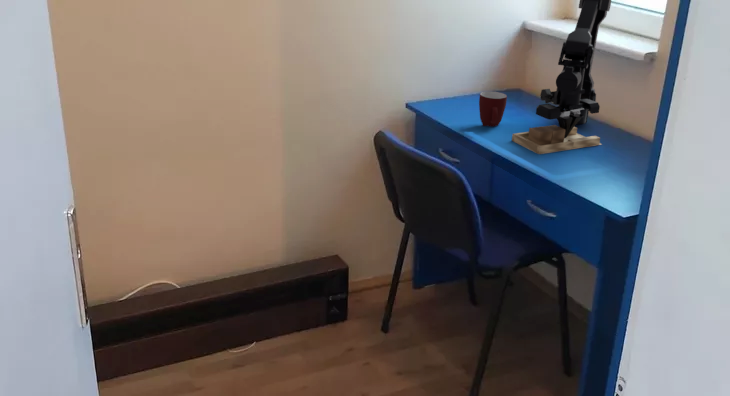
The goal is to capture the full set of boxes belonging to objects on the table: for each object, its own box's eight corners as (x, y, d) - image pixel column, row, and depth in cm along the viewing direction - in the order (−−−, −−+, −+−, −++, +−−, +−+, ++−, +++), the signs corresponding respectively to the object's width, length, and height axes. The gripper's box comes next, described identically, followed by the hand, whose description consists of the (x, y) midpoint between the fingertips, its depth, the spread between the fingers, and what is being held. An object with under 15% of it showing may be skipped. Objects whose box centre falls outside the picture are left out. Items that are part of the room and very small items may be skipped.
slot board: (573, 134, 221) (574, 125, 220) (601, 147, 211) (603, 137, 210) (511, 143, 211) (512, 133, 210) (538, 157, 201) (539, 147, 200)
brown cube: (552, 139, 213) (554, 124, 211) (563, 144, 209) (565, 129, 207) (540, 141, 211) (542, 126, 209) (550, 146, 207) (553, 131, 205)
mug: (509, 133, 219) (513, 101, 215) (482, 133, 218) (486, 101, 214) (498, 122, 229) (502, 91, 225) (473, 122, 228) (476, 91, 224)
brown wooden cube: (539, 141, 211) (542, 126, 209) (550, 146, 207) (552, 131, 205) (527, 143, 209) (529, 128, 207) (537, 148, 205) (539, 132, 203)
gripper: (577, 74, 215) (569, 125, 222) (526, 80, 207) (520, 133, 213) (604, 84, 206) (596, 137, 213) (553, 90, 198) (545, 145, 204)
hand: (563, 137), depth 211 cm, fingers closed
